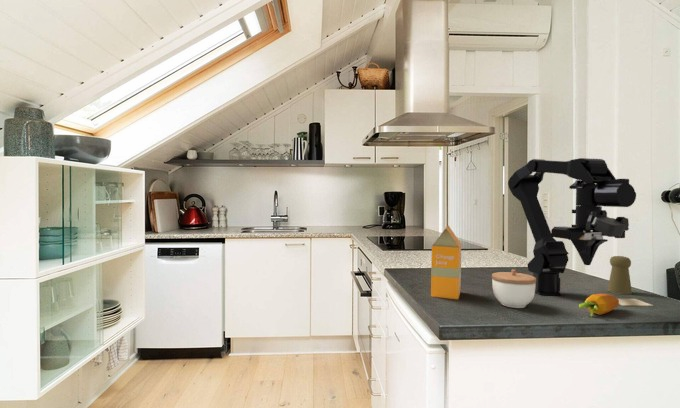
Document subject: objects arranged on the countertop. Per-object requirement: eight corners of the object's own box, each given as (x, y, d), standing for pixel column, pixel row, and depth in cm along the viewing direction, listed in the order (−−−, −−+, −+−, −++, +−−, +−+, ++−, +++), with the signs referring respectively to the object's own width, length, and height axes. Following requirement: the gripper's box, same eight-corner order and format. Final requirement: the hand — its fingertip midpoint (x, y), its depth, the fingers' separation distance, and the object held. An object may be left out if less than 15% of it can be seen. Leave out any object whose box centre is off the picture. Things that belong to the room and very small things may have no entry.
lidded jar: (483, 300, 103) (483, 266, 102) (517, 298, 105) (518, 265, 104) (507, 311, 92) (508, 274, 92) (545, 309, 94) (546, 273, 94)
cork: (623, 289, 116) (624, 255, 116) (636, 294, 110) (637, 258, 110) (603, 289, 117) (603, 254, 117) (615, 294, 111) (616, 257, 111)
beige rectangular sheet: (623, 305, 98) (623, 304, 98) (606, 299, 104) (606, 298, 104) (652, 306, 98) (652, 305, 98) (634, 299, 104) (634, 298, 104)
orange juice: (430, 296, 106) (431, 227, 105) (434, 289, 114) (435, 225, 114) (458, 299, 103) (460, 228, 102) (461, 292, 111) (462, 226, 111)
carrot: (631, 298, 93) (600, 304, 86) (622, 314, 95) (591, 321, 88) (611, 286, 97) (580, 292, 90) (602, 302, 99) (571, 308, 92)
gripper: (588, 206, 87) (586, 272, 87) (647, 207, 92) (645, 269, 92) (550, 205, 98) (548, 264, 98) (605, 205, 102) (603, 261, 103)
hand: (587, 265), depth 97 cm, fingers closed
